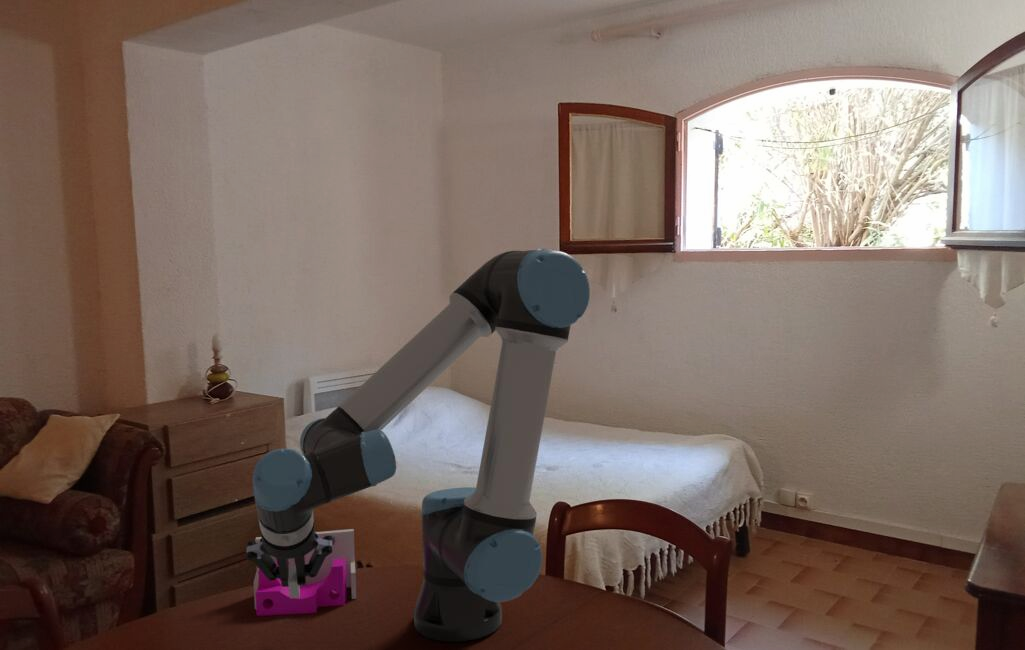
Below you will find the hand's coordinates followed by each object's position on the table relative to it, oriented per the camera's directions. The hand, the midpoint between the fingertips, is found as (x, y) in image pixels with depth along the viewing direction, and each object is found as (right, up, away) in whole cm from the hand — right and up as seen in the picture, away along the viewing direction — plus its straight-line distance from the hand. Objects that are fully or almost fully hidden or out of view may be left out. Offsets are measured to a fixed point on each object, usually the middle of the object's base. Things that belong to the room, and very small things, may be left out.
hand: (295, 590), depth 131 cm
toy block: (-2, -7, +11) cm, 14 cm away
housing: (-2, -6, +15) cm, 17 cm away
